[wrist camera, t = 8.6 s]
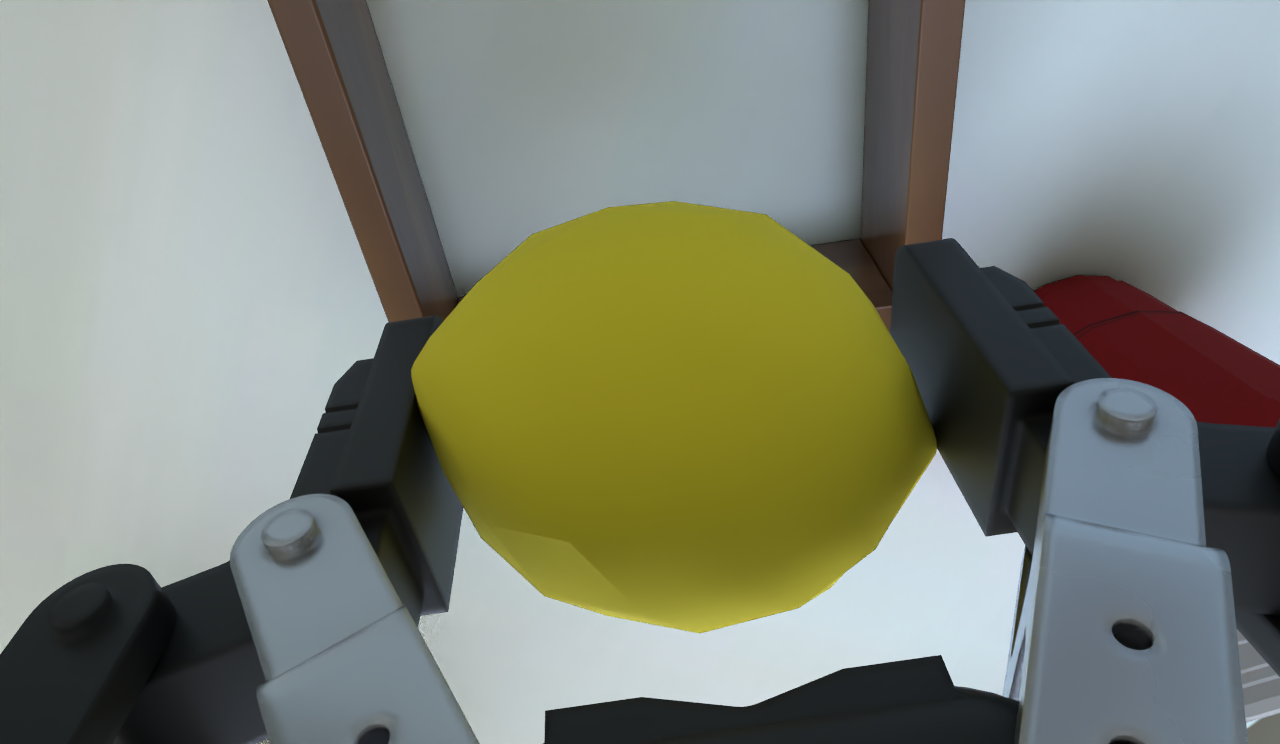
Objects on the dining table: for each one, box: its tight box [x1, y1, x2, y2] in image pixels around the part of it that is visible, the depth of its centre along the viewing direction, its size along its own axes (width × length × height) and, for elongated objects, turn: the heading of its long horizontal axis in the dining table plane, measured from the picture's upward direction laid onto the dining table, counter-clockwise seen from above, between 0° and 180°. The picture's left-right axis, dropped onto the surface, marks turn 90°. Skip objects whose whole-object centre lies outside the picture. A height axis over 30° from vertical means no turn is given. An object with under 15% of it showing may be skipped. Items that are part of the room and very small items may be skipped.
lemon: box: [411, 201, 937, 633], centre depth 11 cm, size 7×5×5 cm
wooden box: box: [268, 0, 965, 333], centre depth 21 cm, size 15×15×4 cm
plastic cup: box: [1034, 275, 1280, 723], centre depth 24 cm, size 11×11×12 cm
